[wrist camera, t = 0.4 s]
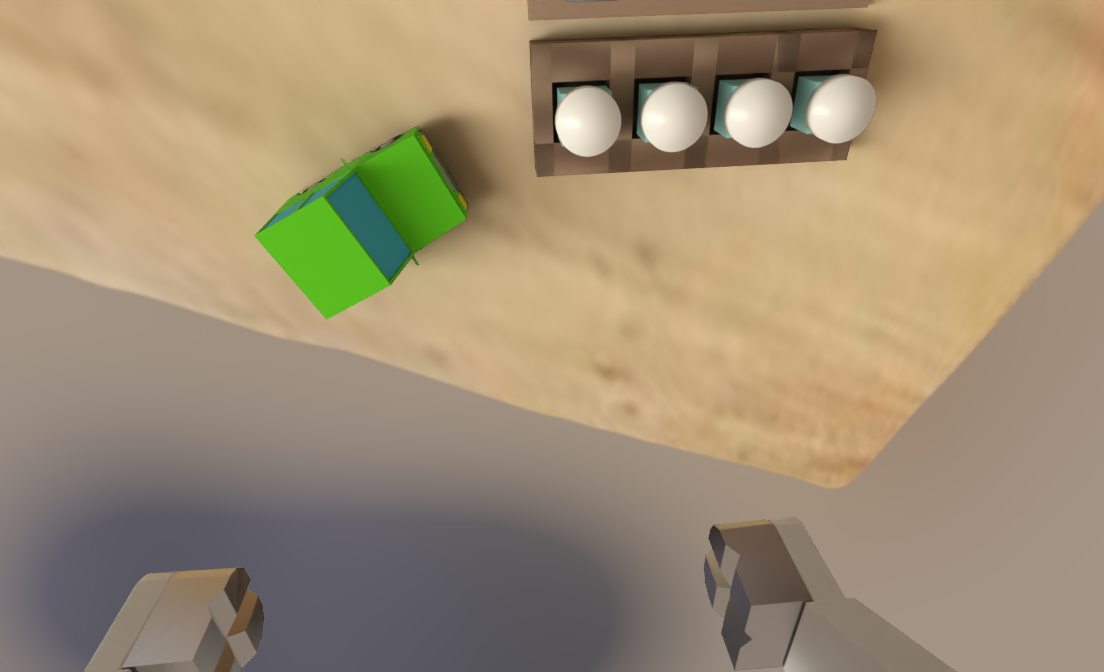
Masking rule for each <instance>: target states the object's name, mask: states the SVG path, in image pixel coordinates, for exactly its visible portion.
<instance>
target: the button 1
mask: <svg viewBox="0 0 1104 672" xmlns="http://www.w3.org/2000/svg"><path fill="white" fill-rule="evenodd" d="M557 106H558V107H557V110H556V114H555V127H556V131H557V133H558V138H559V141H560V143H561V146H562V147H566V148H567V149H568V150H569V151H571V152H572V153H574V154H576V155H579V156H585V157H590V156H595V155H599V154H601V153H603V152H605V151H606V150H607V149H609V148H610V147H611V146H612V145H613V143H614V142H615V140H616V139H617V137H618V135H619V132H620V128H621V113H620V110H619V107H618V105H617V103H616V102H615V100H614V99H613V98H612V91H611V90H610V89H608V88H607V87H606V86H581V87H563V88H557Z"/></svg>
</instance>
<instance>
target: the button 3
mask: <svg viewBox="0 0 1104 672" xmlns="http://www.w3.org/2000/svg"><path fill="white" fill-rule="evenodd" d="M792 110H793V104H792V99H791V96H790V94H789V92H788V90H787V89H786V88H785V87H784V86H783V85H782V84H781V83H778V82H776V81H773V80H770V79H767V78H754V79H738V80H720V82H719V91H718V100H717V109H716V117H715V126H714V130H715V131H716V132H718V133H719V134H721V135H722V136H724V137H725V138H733V139H734V140H736V141H737V142H739V143H740V144H742V145H744V146H746V147H751V148H758V147H763V146H766V145H768V144H770V143H772V142H774V141H775V140H776V139H778V138H779V137H780V136H781V135H782V134H783V132H784V131H785V129H786V128H787V126H788V124H789V122H790V119H791V116H792Z"/></svg>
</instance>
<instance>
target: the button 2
mask: <svg viewBox="0 0 1104 672" xmlns="http://www.w3.org/2000/svg"><path fill="white" fill-rule="evenodd" d="M707 116H708V112H707V105H706V102H705V100H704V98H703V96H702V95H701V94H700V93H699V92H698V88H697V87H695V86H693V85H692V84H690V83H688V82H668V83H650V84H639V97H638V118H637V135H638V136H639V137H640V138H641V139H642V140H643V141H644V142H651V143H652V144H653V145H654V146H655V147H656V148H658V149H660V150H662V151H665V152H678V151H682V150H684V149H686V148H688V147H690V146H691V145H693V144H694V143H695V142H696V141H697V140H698V139H699V137H700V136H701V135H702V133H703V131H704V129H705V126H706V123H707Z"/></svg>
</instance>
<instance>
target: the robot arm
mask: <svg viewBox="0 0 1104 672" xmlns="http://www.w3.org/2000/svg"><path fill="white" fill-rule="evenodd" d="M708 539H709V541H710V544H711V546H712V549H711V550H710V551H709V552H708V553H707V554H706V555H705V563H704V575H705V584H706V589H707V592H708V597H709V600H710V603H711V605H712V608H713V610H715V611H716V612H717V613H718V614H719V615H721V616H722V617H723V618H724V621H723V626H722V631H721V634H722V637H723V640H724V642H725V645H726V648H727V651H728V653H729V656H730V659H731V662H732V665H733V667H734V670H735V671H736V670H750V669H763V668H775V667H784V669H783V670H784V671H785V672H957V671H955V670H954V669H953V668H951V667H950V666H948V665H947V664H946V663H944V662H943V661H941V660H940V659H938V658H937V657H936V656H935V655H933V654H932V653H930V652H929V651H928V650H926V649H925V648H923V647H922V646H921V645H919V644H918V643H916V642H915V641H914V640H912V639H911V638H910V637H908V636H907V635H905V634H904V633H903V632H901V631H899V630H898V629H897V628H896V627H894V626H893V625H891V624H890V623H889V622H887V621H886V620H884V619H883V618H882V617H880V616H879V615H877V614H876V613H875V612H873V611H872V610H871V609H869V608H868V607H866V606H865V605H864V604H862V603H861V602H859V601H858V600H857V599H855V598H845V596H844V594H843V593H842V591H841V589H840V588H839V585H838V584H837V582H836V580H835V579H834V577H833V575H832V574H831V572H830V570H829V568H828V567H827V565H826V563H825V561H824V560H823V558H822V556H821V555H820V553H819V551H818V550H817V548H816V546H815V544H814V543H813V541H812V539H811V537H810V536H809V534H808V532H807V531H806V529H805V527H804V525H803V524H802V522H801V521H800V520H798V519H797V518H796V517H794V518H782V519H771V520H765V519H764V520H754V521H744V522H735V523H725V524H715V525H713V526H712V527H711V529H710V533H709V538H708ZM250 581H251V579H250V577H249V575H248V573H247V571H246V570H245V568H244V567H243V568H229V569H228V568H227V569H211V570H196V571H179V572H166V573H154V574H147V575H146V576H144V577H143V578H142V579H141V580H140V581H139V582H138V583H137V584H136V585H135V587H134V589H133V590H132V592H131V594H130V595H129V597H128V599H127V600H126V602H125V604H124V606H123V607H122V609H121V610H120V612H119V614H118V616H117V617H116V619H115V621H114V622H113V624H112V626H111V627H110V629H109V631H108V632H107V634H106V636H105V638H104V639H103V641H102V642H101V644H100V646H99V647H98V649H97V651H96V652H95V654H94V656H93V657H92V660H91V661H90V663H89V664H88V666H87V667H86V669H85V671H84V672H244V671H243V668H242V667H243V666H244V665H245V664H246V663H247V662H248V661H249V660H250V659H251V658H252V657H253V656H254V655H255V654H256V653H257V651H258V647H259V644H260V641H261V638H262V635H263V626H264V610H263V605H262V602H261V600H260V598H259V596H258V595H256V594H255V593H253V592H251V591H249V590H248V589H247V588H248V586H249V583H250Z"/></svg>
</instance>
